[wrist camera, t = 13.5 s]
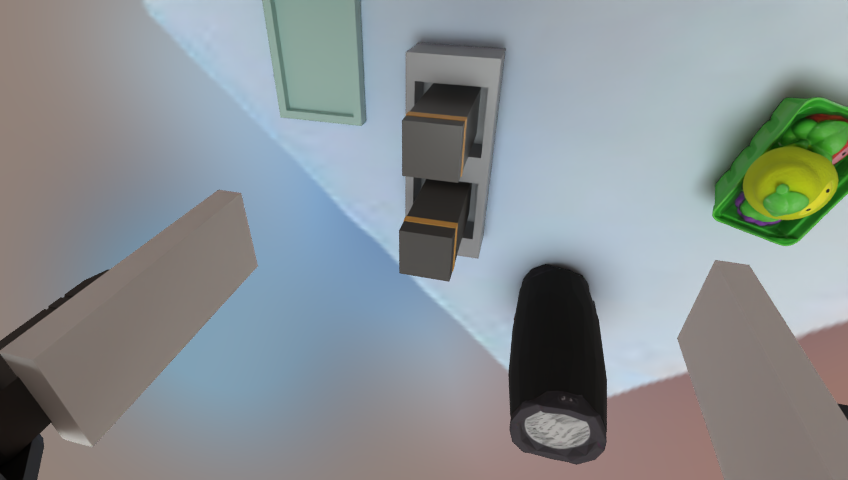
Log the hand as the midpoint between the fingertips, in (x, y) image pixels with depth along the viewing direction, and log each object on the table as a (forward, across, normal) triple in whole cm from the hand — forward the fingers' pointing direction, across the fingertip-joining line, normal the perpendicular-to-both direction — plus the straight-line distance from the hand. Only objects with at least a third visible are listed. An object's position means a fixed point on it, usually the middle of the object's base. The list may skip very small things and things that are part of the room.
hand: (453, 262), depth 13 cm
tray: (+33, -19, -2) cm, 38 cm away
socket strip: (+33, -5, -10) cm, 35 cm away
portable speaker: (+33, +8, -26) cm, 43 cm away
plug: (+32, -5, -14) cm, 35 cm away
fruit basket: (+33, +23, -7) cm, 41 cm away
